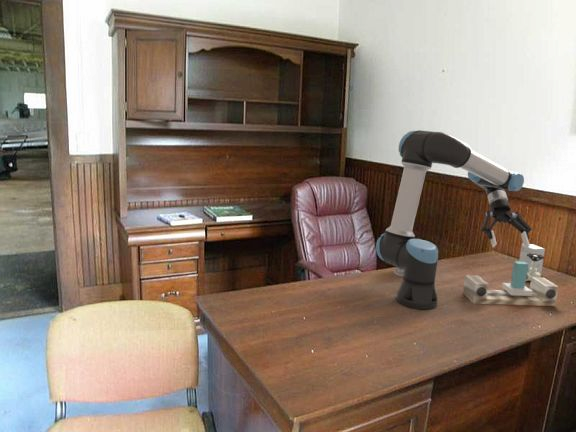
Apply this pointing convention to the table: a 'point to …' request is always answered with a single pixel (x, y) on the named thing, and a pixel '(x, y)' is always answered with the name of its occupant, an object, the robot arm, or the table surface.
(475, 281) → the rail board
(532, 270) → the valve
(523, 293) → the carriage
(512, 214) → the robot arm
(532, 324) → the table surface
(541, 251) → the small box
